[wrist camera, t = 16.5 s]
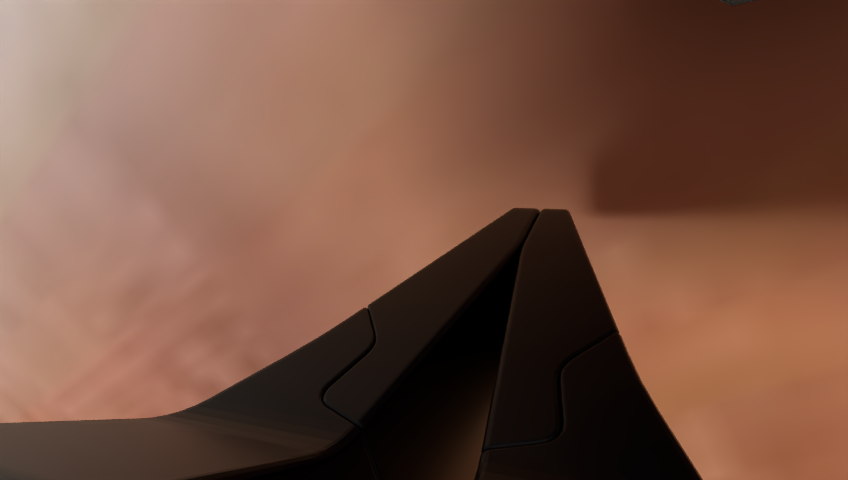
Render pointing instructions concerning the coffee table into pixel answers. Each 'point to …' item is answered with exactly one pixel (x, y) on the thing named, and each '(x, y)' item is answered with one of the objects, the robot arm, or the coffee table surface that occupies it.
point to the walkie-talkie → (736, 1)
